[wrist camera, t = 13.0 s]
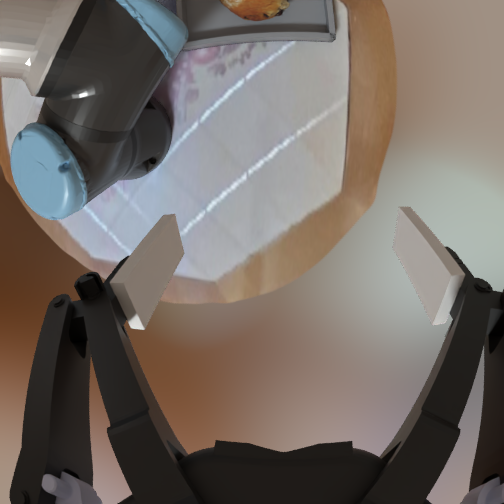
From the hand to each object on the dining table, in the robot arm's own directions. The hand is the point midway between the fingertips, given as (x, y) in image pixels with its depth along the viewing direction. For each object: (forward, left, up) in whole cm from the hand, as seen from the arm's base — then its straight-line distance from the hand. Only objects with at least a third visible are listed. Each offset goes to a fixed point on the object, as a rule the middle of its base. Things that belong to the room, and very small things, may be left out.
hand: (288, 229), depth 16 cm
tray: (-3, +24, -29) cm, 37 cm away
